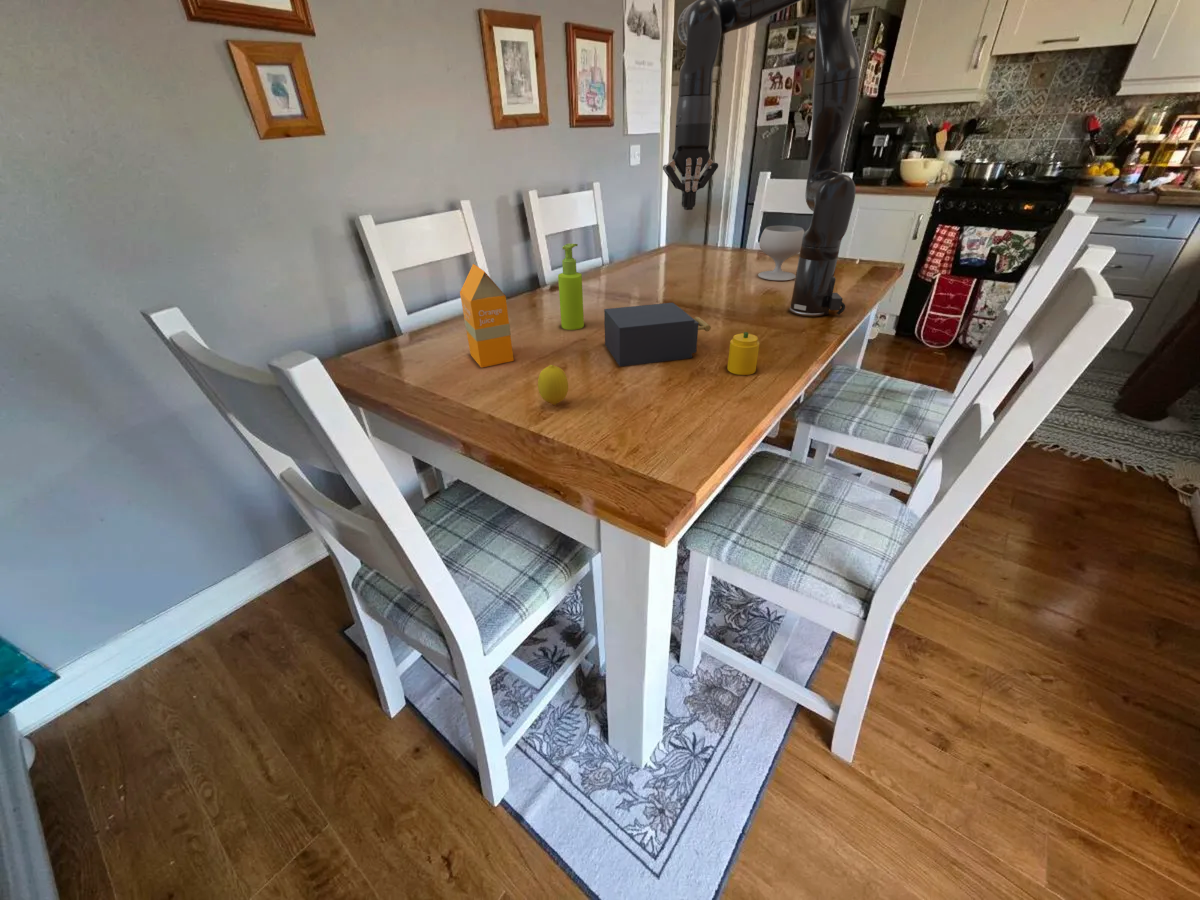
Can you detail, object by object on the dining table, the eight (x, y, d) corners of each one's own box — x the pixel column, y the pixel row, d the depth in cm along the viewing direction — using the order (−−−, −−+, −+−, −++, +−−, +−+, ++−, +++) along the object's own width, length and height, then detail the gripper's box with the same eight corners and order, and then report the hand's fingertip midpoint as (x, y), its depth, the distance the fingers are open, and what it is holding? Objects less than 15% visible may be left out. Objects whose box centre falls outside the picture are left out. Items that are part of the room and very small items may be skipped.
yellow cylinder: (753, 364, 110) (758, 328, 105) (757, 375, 105) (763, 337, 101) (726, 363, 110) (730, 327, 106) (728, 374, 106) (732, 337, 101)
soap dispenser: (588, 322, 136) (585, 242, 125) (579, 330, 131) (575, 248, 120) (568, 320, 138) (563, 241, 127) (558, 328, 132) (552, 247, 122)
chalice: (756, 281, 166) (763, 232, 158) (753, 271, 178) (759, 224, 170) (801, 282, 164) (811, 232, 156) (795, 272, 175) (803, 224, 167)
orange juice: (480, 367, 112) (465, 273, 101) (469, 354, 119) (454, 265, 108) (514, 360, 115) (503, 268, 104) (502, 348, 122) (490, 260, 111)
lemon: (540, 399, 98) (536, 360, 94) (568, 397, 99) (566, 358, 94) (539, 412, 94) (535, 372, 89) (569, 410, 94) (567, 370, 90)
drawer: (693, 332, 125) (695, 304, 121) (714, 350, 114) (717, 320, 111) (614, 341, 121) (614, 312, 118) (629, 360, 111) (629, 330, 107)
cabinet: (671, 337, 125) (672, 302, 120) (691, 358, 114) (694, 320, 109) (604, 344, 122) (604, 308, 117) (619, 366, 111) (619, 327, 106)
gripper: (714, 121, 115) (708, 206, 124) (658, 122, 113) (656, 209, 122) (729, 120, 109) (721, 210, 118) (670, 122, 106) (666, 213, 116)
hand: (688, 209), depth 120 cm, fingers closed
